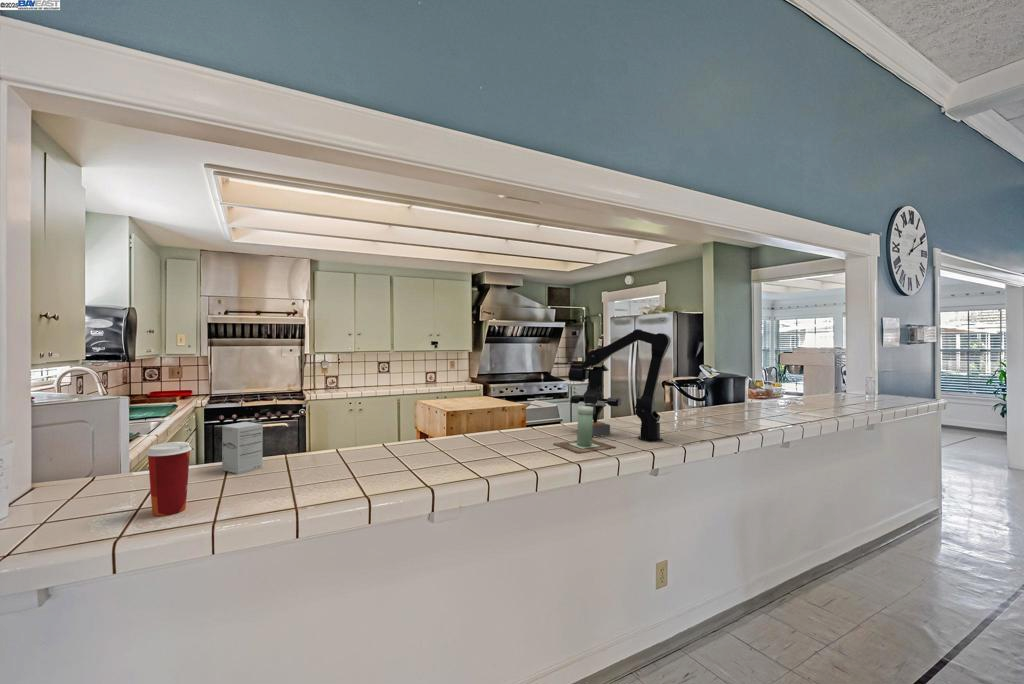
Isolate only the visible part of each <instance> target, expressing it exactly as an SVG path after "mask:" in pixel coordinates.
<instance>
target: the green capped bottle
mask: <svg viewBox="0 0 1024 684" xmlns="http://www.w3.org/2000/svg"><path fill="white" fill-rule="evenodd" d="M592 423H593V407H591V406H585V405H577V435H576V437H577V439H576V440H577V445H579V446H592V440H593V437H592Z"/></svg>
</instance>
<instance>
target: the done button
mask: <svg viewBox="0 0 1024 684" xmlns="http://www.w3.org/2000/svg"><path fill="white" fill-rule="evenodd" d="M605 424H606V423H605V422H602V421H600V420H599V421H598V420H597V422H596V423H594V421H593V423H592V425H593V426H597V425H605Z"/></svg>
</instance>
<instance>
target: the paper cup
mask: <svg viewBox="0 0 1024 684" xmlns="http://www.w3.org/2000/svg"><path fill="white" fill-rule="evenodd" d="M192 449H193V448H192V447H191V446H190V443H189V442H187V441H171V442H170V441H169V442H163V443H162V442H161V443H158V444H154V445H150V447H149V448H148V451H147V452H146V453H145V455H146V456H147V458H148V473H149V488H150V499H151V500H150V501H151V511H152V515H153V516H155V517H166V516H167V517H168V516H172V515H177V514H179V513H182V512H184V511H185V510H186V508H187V498H188V497H187V496H188V485H189V484H188V483H189V471H190V469H189V467H190V455H191V453H190V452H191V451H192Z"/></svg>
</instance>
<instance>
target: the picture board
mask: <svg viewBox="0 0 1024 684" xmlns="http://www.w3.org/2000/svg"><path fill="white" fill-rule="evenodd" d="M553 445H554V446H556V445H557V446H556V447H559V448H562V449H564V450H567V451H569V450H570V452H572V453H575V454H577V453H579V454H585V452H586V453H591V451H593V452H598V451H597V450H600V451H605V450H604V449H606V450H612V449H611V448H613V449H617V446H614V445H611V444H607V443H604V442H601V441H598V440H595V439H592V446H579V445H577V439H576V440H571V441H570V440H568V441H562V442H554V443H553Z"/></svg>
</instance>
